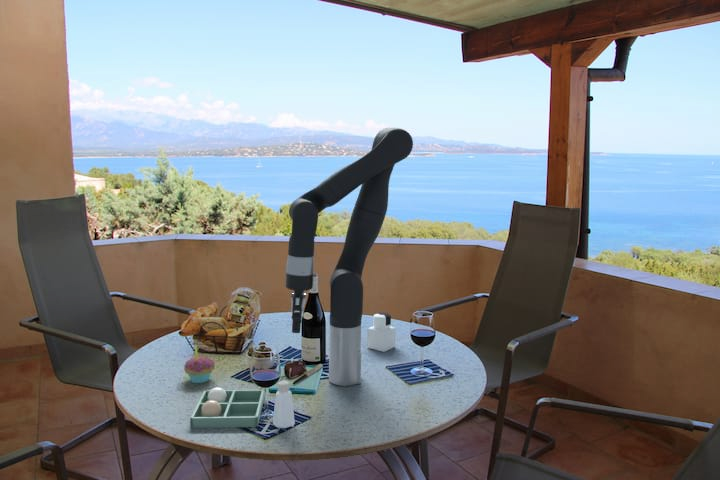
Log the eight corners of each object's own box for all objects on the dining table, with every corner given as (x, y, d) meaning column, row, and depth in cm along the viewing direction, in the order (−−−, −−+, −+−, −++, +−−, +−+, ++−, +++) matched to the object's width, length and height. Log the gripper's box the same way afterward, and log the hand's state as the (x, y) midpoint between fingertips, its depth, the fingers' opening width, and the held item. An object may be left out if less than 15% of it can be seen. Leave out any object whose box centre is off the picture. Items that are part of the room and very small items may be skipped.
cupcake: (206, 388, 153) (205, 347, 152) (178, 385, 155) (177, 345, 153) (220, 377, 162) (219, 338, 160) (193, 374, 163) (192, 335, 162)
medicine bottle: (378, 342, 195) (379, 309, 193) (395, 346, 191) (396, 313, 189) (367, 347, 189) (367, 314, 187) (384, 352, 185) (385, 318, 183)
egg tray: (264, 400, 147) (264, 389, 146) (257, 429, 131) (257, 417, 131) (204, 400, 146) (204, 390, 145) (190, 430, 130) (190, 418, 130)
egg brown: (223, 414, 137) (222, 396, 136) (219, 423, 132) (219, 405, 131) (203, 414, 137) (203, 396, 136) (199, 424, 132) (198, 405, 131)
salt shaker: (281, 417, 137) (281, 376, 136) (299, 423, 135) (299, 381, 133) (267, 426, 133) (267, 383, 131) (285, 432, 130) (285, 388, 128)
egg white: (228, 401, 144) (227, 384, 144) (225, 409, 140) (224, 391, 139) (209, 401, 144) (209, 384, 143) (205, 409, 139) (205, 392, 139)
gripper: (313, 277, 144) (309, 336, 147) (314, 267, 158) (310, 321, 161) (284, 276, 144) (281, 335, 146) (288, 265, 158) (285, 319, 160)
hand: (296, 327), depth 153 cm, fingers open, 8 cm apart
